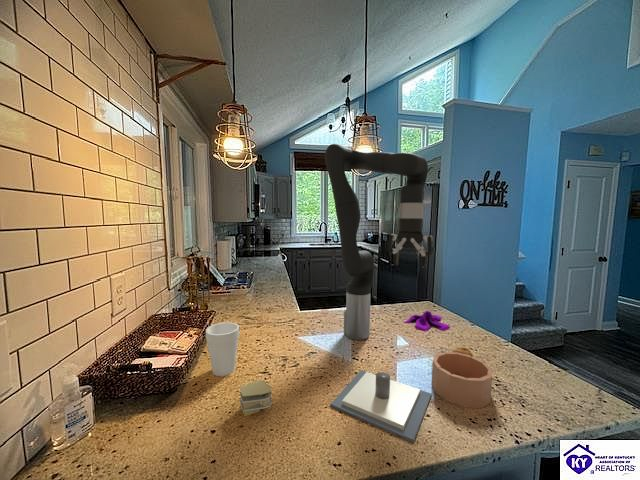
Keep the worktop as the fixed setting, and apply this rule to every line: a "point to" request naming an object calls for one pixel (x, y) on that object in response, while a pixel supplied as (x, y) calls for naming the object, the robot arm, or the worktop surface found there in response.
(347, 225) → the robot arm
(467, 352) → the pastry
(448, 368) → the bowl
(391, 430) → the mat
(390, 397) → the cover
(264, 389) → the pale green layered block
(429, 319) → the cloth
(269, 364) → the worktop surface
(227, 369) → the foam cup
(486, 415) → the worktop surface
